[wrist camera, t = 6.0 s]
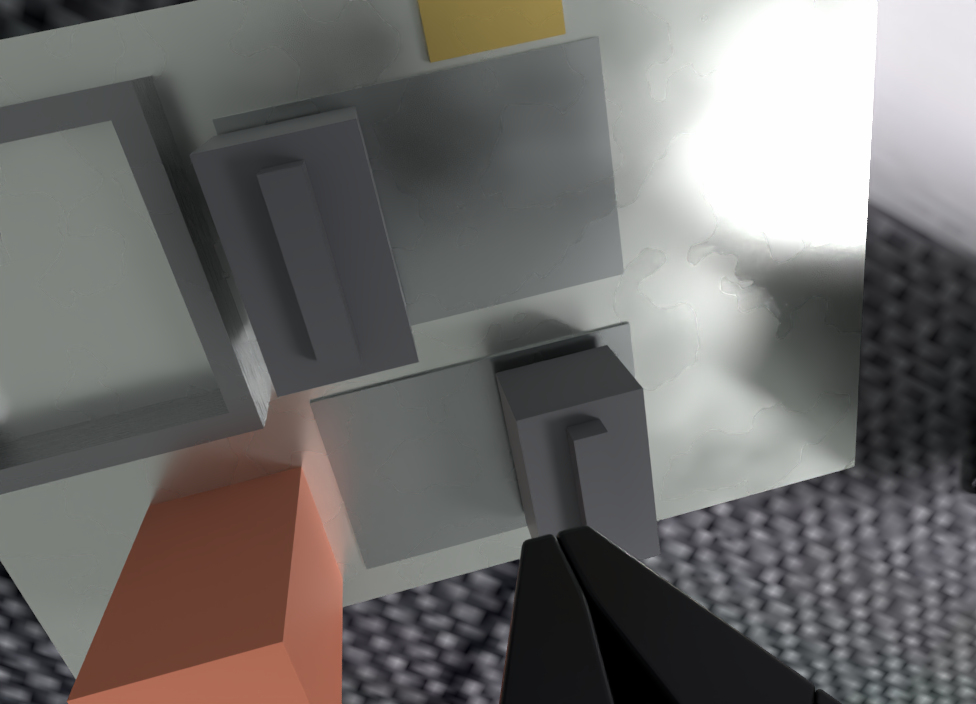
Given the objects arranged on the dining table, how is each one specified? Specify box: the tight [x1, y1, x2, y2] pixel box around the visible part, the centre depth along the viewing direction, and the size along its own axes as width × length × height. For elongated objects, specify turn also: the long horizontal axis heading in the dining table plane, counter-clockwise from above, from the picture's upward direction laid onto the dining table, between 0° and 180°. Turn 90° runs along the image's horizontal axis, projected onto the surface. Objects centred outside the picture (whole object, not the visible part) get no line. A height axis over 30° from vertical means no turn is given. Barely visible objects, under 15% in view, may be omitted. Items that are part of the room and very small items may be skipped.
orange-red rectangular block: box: [67, 467, 343, 704], centre depth 17 cm, size 4×4×6 cm
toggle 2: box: [496, 345, 660, 561], centre depth 18 cm, size 3×5×3 cm, turn 11°
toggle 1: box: [189, 106, 419, 397], centre depth 15 cm, size 3×5×3 cm, turn 11°
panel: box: [0, 0, 878, 679], centre depth 18 cm, size 24×16×3 cm, turn 101°
